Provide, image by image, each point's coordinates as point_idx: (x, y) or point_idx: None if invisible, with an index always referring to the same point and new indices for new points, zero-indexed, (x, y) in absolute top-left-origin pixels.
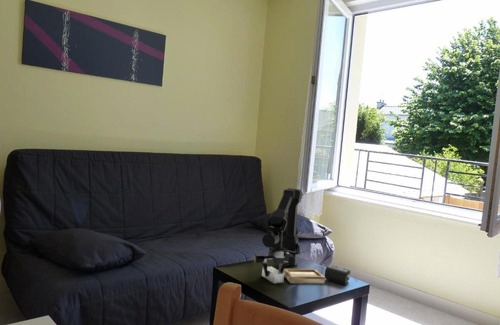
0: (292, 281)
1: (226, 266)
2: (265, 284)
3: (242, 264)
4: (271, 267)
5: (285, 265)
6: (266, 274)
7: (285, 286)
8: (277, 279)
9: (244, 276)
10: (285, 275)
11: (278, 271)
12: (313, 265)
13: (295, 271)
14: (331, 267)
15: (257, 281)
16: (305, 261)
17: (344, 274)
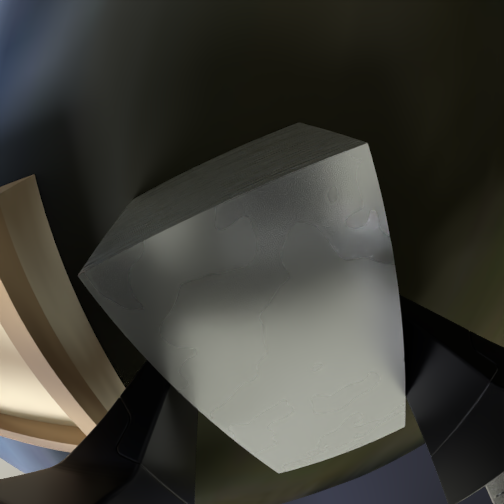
0: (5, 187)
1: None
2: (426, 84)
3: (388, 456)
4: (292, 457)
5: (37, 478)
6: (401, 305)
7: (132, 17)
8: (247, 156)
9: (498, 299)
10: (105, 376)
11: (210, 366)
12: (19, 465)
13: (27, 419)
14: None
15: (473, 189)
16: None
17: None
